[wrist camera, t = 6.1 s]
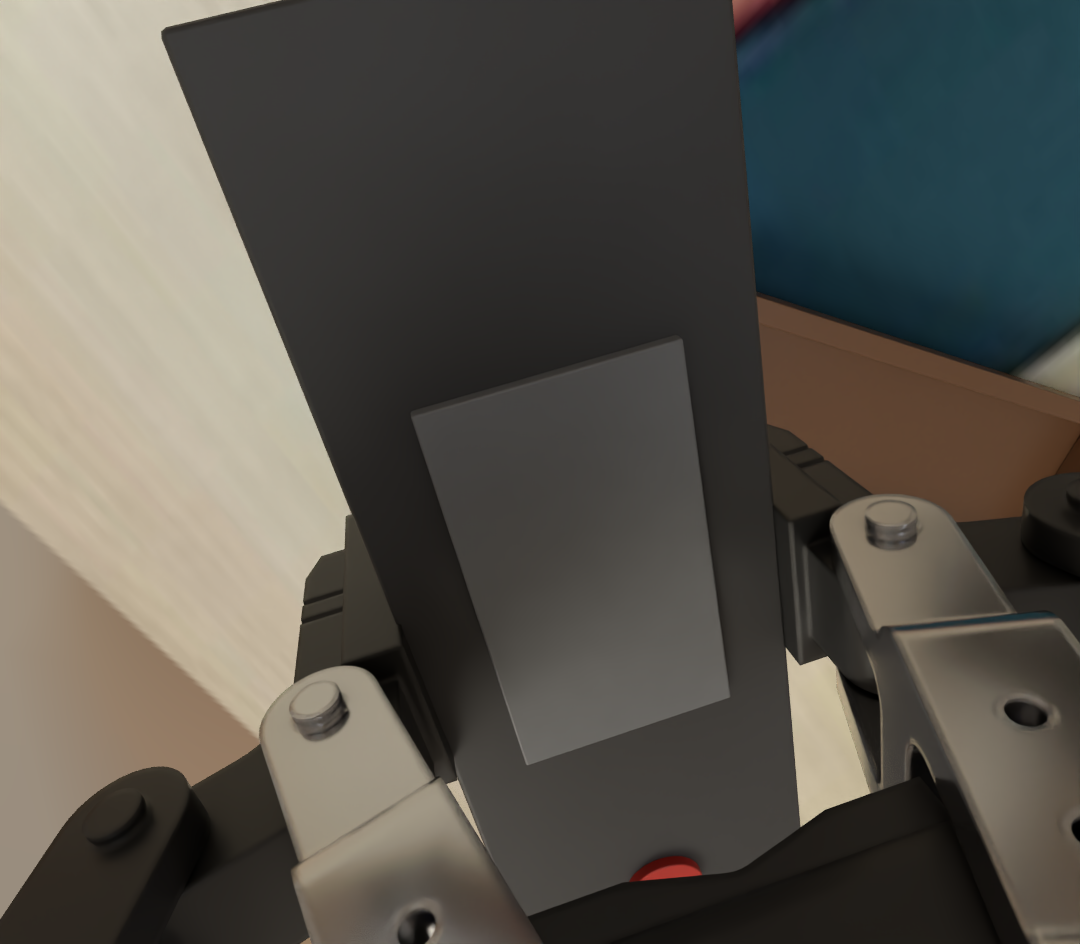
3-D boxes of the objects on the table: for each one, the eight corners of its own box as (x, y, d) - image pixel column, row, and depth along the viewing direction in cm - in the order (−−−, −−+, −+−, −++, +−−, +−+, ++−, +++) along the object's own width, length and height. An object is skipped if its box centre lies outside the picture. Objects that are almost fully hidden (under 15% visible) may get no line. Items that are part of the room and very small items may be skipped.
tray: (716, 278, 25) (743, 291, 23) (1101, 404, 31) (1145, 422, 29) (626, 502, 28) (643, 528, 26) (992, 578, 34) (1026, 603, 32)
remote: (230, 56, 9) (151, 26, 6) (600, -34, 9) (735, -111, 6) (509, 819, 15) (549, 1014, 12) (719, 748, 16) (813, 917, 12)
